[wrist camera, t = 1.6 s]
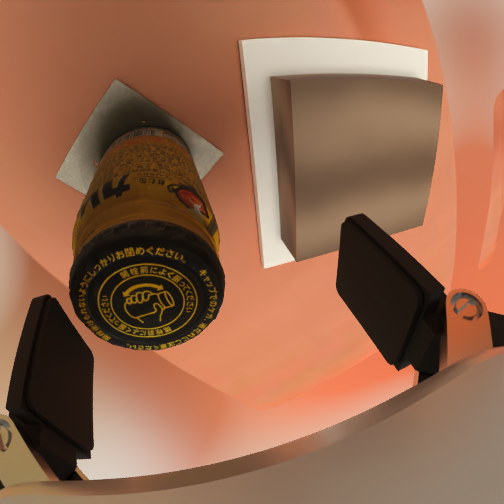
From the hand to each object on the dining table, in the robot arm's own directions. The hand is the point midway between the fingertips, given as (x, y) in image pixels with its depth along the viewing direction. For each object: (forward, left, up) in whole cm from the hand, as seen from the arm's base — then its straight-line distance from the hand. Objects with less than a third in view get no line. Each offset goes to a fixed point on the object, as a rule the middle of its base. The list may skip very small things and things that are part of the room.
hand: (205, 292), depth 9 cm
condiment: (-1, -2, -12) cm, 13 cm away
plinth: (+1, +13, -11) cm, 17 cm away
